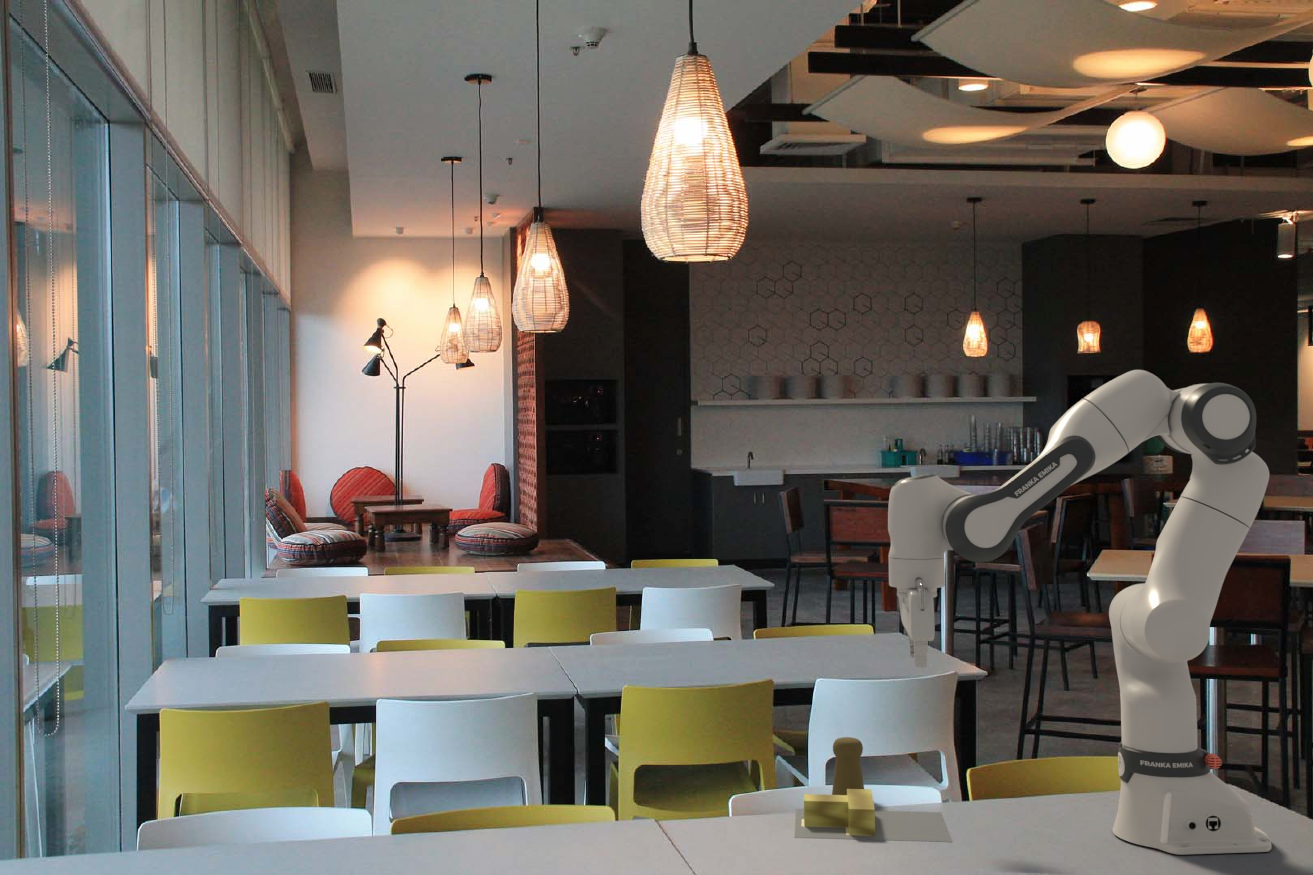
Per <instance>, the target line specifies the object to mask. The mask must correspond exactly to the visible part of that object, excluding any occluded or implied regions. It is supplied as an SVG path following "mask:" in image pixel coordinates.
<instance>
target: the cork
mask: <svg viewBox="0 0 1313 875" xmlns="http://www.w3.org/2000/svg"><path fill="white" fill-rule="evenodd" d="M863 750H864V747H863V744H862V742H861V740H859V739H858V738H855V737H850V736H845V737H839V738H837V739H836V738H835V741H834V742H833V744H832V752H833V754H834V756H835V766H834V772H833V773H834V774H833V783H832V792H831V795H847V789H865V783H864V778H863V777H864V776H863V773H862V772H863V771H862V765H861V756H862V755H863Z"/></svg>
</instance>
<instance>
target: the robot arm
mask: <svg viewBox="0 0 1313 875" xmlns="http://www.w3.org/2000/svg"><path fill="white" fill-rule="evenodd" d="M1256 412H1257V411H1256V407H1255V404H1254V402H1253V400H1252V399H1251V397H1250V396H1249V395H1248V394H1247V393H1246V392H1245V391H1243V390H1242V389H1240V388H1239V387H1237V386H1234V385H1232V384H1229V383H1224V382H1211V383H1198V384H1192V385H1189V386H1187V387H1182V388H1178V389H1173V390H1172V389H1170V388H1169V387H1167V386H1166V384H1165V383H1164V382H1163V381H1162V380H1161V379H1160V378H1159V377H1158V376H1156V375H1155V374H1153V373H1151V372H1149V371H1148V370H1144V369H1133V370H1132V369H1131V370H1130V371H1127V372H1125V373H1123V374H1121V375H1118V376H1116V377H1115V378H1113V379H1112V380H1109V381H1108V382H1106V383H1104V384H1102V385H1100V386H1099V387H1098V388H1096V389H1095V390H1093V391H1091V392H1090V393H1089V394H1086V396H1084V397H1083V398H1081V399H1080V400H1079V401H1077V402H1076V403H1075V404H1073V405H1072V406H1071V407H1070V408H1069V409H1067V411H1065V413H1063V415H1062V416H1061V417H1059V419H1058V420H1057V421H1056V422H1055V423H1054V424H1053V425H1052V426H1051V428H1050V430H1049V433H1048V436H1047V437H1048V438H1047V442H1046V444H1045V447H1044V449H1043V450H1042V451H1041V453H1039V455H1038V456H1037V457H1036V458H1035V459H1034V460H1033V461H1032V462H1030V463H1029V464H1028V465H1026V467H1024V468H1023V469H1021V470H1020V471H1019V472H1018V473H1016V474H1015V475H1014V476H1012V477H1011V478H1010V479H1009V480H1007V481H1005V482H1004V483H1003V484H1002V485H1001V486H999V487H998V488H996V489H994V490H991V491H989V492H986V493H982V494H974V493H971V492H968V491H966V490H963V489H960V488H959V487H957V486H954V485H952V484H950V483H948V482H947V481H945V480H943V479H942V478H940V477H939V476H938V475H937V474H934V473H926V474H920V475H914V476H908V477H905V478H901V479H900V480H898V481H896V482H895V483H894V485H892V487H891V488H890V490H889V491H890V492H889V499H888V508H887V509H888V510H887V530H888V535H889V539H890V547H889V551H888V556H887V557H888V586H890V588H891V587H892V588H896V596H897V597H898V605H899V613H900V620H901V623H902V624H901V625H902V626H903V627H904V629H905V631H906V633H907V637H908V638H907V639H908V646H909V655H910V657H911V658H913V659H914V661H913V662H914V666H915V667H916V668H926V667H927V665H928V661H927V659H928V658H927V655H928V650H929V642H933V641H934V640H935V636H936V635H935V633H936V631H935V629H936V628H935V601H934V598H936V597H938V592H937V591H938V589H939V588H944V587H945V586H946V581H945V578H946V574H945V570H946V569H945V568H946V567H945V553H946V551H954V553H956V554H957V555H959V557H962V558H963V559H965V560H967V561H969V562H970V561H971V562H973V563H974V562H975V563H985V562H986V563H987V562H991V561H994V560H996V559H999V557H1002V555H1003V554H1005V553H1006V551H1008V550H1009V548H1010V547H1011V545H1012V544H1013V543H1014V540H1015V538H1016V536H1017V534H1018V533H1019V531H1020V529H1021V528H1022V526H1023V525H1024V524H1025V523H1026V521H1028V520H1029V519H1030V518H1031V517H1032V516H1034V515H1035V514H1036V513H1037V512H1038V511H1040V510H1041V509H1042V508H1044V507H1045V506H1047V504H1049V503H1050V502H1052V501H1053V500H1054V499H1055V498H1056V497H1058V496H1059V495H1060V494H1061V493H1063V492H1064V491H1066V490H1067V489H1068V488H1070V487H1071V486H1073V485H1075V484H1076V483H1077V484H1078V483H1079V482H1080V481H1083V480H1084V479H1087V478H1089V477H1092V476H1093V475H1096V474H1097V473H1099V472H1101V471H1103V470H1105V469H1107V468H1108V467H1110V466H1111V465H1113V464H1115V463H1116V462H1118V461H1120V460H1121V459H1122V458H1123V457H1125V456H1127V455H1128V454H1129V453H1130V452H1131V451H1133V450H1135V448H1137V447H1138V446H1139V445H1141V444H1142V443H1143V442H1145V441H1148V440H1149V439H1150V438H1151V439H1152V438H1153V439H1155V440H1156V441H1158V442H1159V443H1160V444H1162V445H1163V446H1165V447H1166V448H1167V449H1169V450H1171V451H1174V452H1177V453H1180V454H1187V455H1190V456H1191V460H1192V469H1191V474H1190V477H1189V481H1188V482H1187V484H1186V486H1185V487H1184V489H1183V491H1182V492H1181V494H1180V497H1179V498H1178V500H1177V501H1176V503H1175V506H1174V507H1173V510H1172V512H1171V513H1170V515H1169V517H1168V519H1167V520H1166V523H1165V525H1164V527H1163V529H1162V530H1161V532H1160V534H1159V536H1158V538H1157V540H1156V543H1155V544H1156V545H1155V551H1154V556H1153V559H1152V562H1151V566H1150V568H1149V572H1148V575H1147V578H1146V580H1145V582H1142V583H1136V584H1131V585H1130V586H1128V587H1125V588H1123V589H1122V590H1121V591H1119V592H1117V594H1115V596H1114V597H1113V599H1112V600H1111V603H1110V605H1109V609H1108V617H1109V622H1110V627H1111V636H1112V637H1111V638H1112V645H1113V654H1114V662H1115V667H1116V673H1117V680H1118V684H1119V695H1120V696H1119V697H1120V722H1121V723H1120V728H1121V732H1120V733H1121V741H1120V742H1119V743H1118V752H1117V759H1118V760H1117V761H1118V762H1117V763H1118V766H1117V768H1118V775H1119V778H1120V788H1119V789H1120V790H1119V800H1118V806H1117V812H1116V816H1115V820H1114V824H1113V827H1112V833H1113V834H1114V835H1115V836H1116V837H1118V838H1120V839H1121V840H1124V841H1127V842H1129V843H1132V844H1136V845H1139V846H1142V847H1143V846H1144V847H1148V848H1153V849H1157V850H1160V851H1163V852H1166V853H1169V854H1174V855H1183V856H1184V855H1205V854H1206V855H1207V854H1210V855H1211V854H1237V853H1239V854H1240V853H1241V854H1242V853H1243V854H1244V853H1265V852H1270V851H1271V850H1272V848H1273V847H1272V840H1271V838H1270V837H1269V836H1268V834H1267V833H1266V832H1264V831H1263V830H1261V829H1260V828H1258V827H1257V826H1255V822H1254V816H1253V814H1252V810H1251V808H1250V805H1249V803H1248V802H1247V801H1246V799H1245V798H1244V797H1243V796H1241V795H1240V794H1239V793H1238V792H1237V791H1236V790H1235V789H1234V788H1232V787H1230V786H1229V784H1228V783H1226V782H1224V781H1223V780H1222V779H1220V778H1219V777H1217V775H1215V774H1214V773H1212V772H1211V770H1212V769H1213V770H1218V769H1220V768H1221V767H1220V766H1222V763H1223V762H1222V759H1221V758H1220V757H1219V756H1218V755H1216V754H1215V753H1213V752H1212V753H1210V752H1209V751H1207V750H1205V749H1203V748H1201V747H1200V746H1198V712H1197V711H1198V710H1197V706H1198V705H1197V696H1196V693H1195V689H1194V687H1193V684H1192V680H1191V674H1190V670H1189V665H1188V661H1190V660H1191V661H1192V660H1194V658H1196V657H1198V656H1199V655H1200V654H1202V652H1204V650H1205V649H1206V647H1207V645H1208V644H1209V640H1210V635H1211V627H1210V626H1211V621H1212V619H1213V616H1214V613H1215V610H1216V607H1217V604H1218V602H1219V597H1220V593H1221V591H1222V587H1223V584H1224V581H1225V579H1226V576H1227V574H1228V572H1229V569H1230V568H1231V565H1232V563H1233V561H1234V559H1235V557H1236V555H1237V554H1238V552H1239V550H1240V549H1241V548H1240V547H1241V546H1242V544H1243V543H1244V540H1245V539H1246V537H1247V535H1248V533H1249V531H1250V529H1251V528H1252V525H1253V523H1254V522H1255V519H1256V517H1257V516H1258V512H1259V509H1260V508H1261V506H1262V502H1263V501H1264V497H1265V494H1266V491H1267V487H1268V484H1269V481H1270V470H1269V467H1268V465H1267V463H1266V462H1265V460H1263V459H1262V457H1260V455H1258V454H1257V453H1255V452H1253V451H1254V449H1256V445H1257V440H1256V427H1257V413H1256ZM1249 448H1250V449H1249Z"/></svg>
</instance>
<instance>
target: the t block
mask: <svg viewBox="0 0 1313 875" xmlns="http://www.w3.org/2000/svg"><path fill="white" fill-rule="evenodd" d="M803 809H804V826H822V827H849V835H875V811H876V809H875V804H874V798H873V793H872V789H871V788H864V789H847V795H832V794H815V793H814V794H812V793H809V794H807V793H804V795H803Z"/></svg>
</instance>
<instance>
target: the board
mask: <svg viewBox="0 0 1313 875" xmlns="http://www.w3.org/2000/svg"><path fill="white" fill-rule="evenodd" d="M794 823H795V824H794V838H795V839H796V838H797V839H825V840H827V839H828V840H830V839H831V840H858V841H859V840H862V841H867V840H868V841H900V842H903V841H905V842H929V843H930V842H931V843H932V842H933V843H939V842H940V843H953V839H952V836H951V835H950V832H949V830H948V826H947V823H946V821H945V819H944V816H943V813H942V812H941V811H911V810H910V811H906V810H905V811H904V810H903V811H900V810H875V835H849V827H822V826H804V808H795V822H794Z"/></svg>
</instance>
